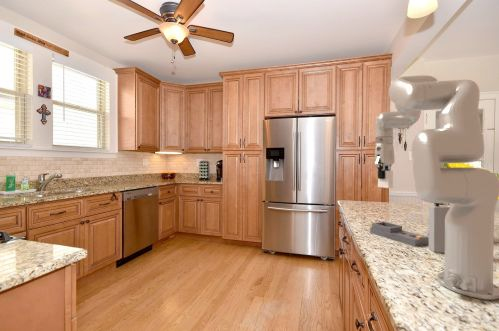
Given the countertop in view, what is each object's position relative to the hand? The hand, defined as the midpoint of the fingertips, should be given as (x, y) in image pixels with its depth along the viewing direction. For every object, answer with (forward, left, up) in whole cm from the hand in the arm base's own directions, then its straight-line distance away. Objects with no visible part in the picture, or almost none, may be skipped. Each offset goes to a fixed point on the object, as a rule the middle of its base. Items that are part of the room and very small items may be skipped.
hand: (384, 178), depth 116 cm
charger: (0, -1, -4) cm, 4 cm away
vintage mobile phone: (-12, -26, -25) cm, 38 cm away
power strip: (-8, -10, -26) cm, 28 cm away
